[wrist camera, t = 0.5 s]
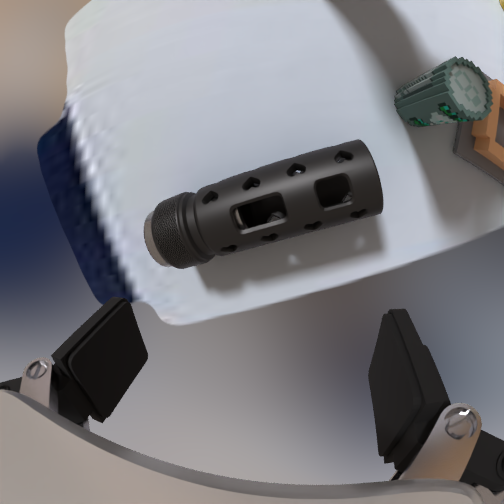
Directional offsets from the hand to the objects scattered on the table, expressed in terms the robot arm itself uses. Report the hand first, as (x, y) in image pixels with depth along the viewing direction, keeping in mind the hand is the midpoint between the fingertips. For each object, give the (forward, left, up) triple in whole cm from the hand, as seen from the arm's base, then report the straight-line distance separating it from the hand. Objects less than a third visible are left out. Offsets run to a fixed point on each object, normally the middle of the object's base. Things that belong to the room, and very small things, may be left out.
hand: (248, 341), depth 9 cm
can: (-18, +14, -30) cm, 38 cm away
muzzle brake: (+2, -3, -30) cm, 30 cm away
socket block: (-22, +30, -30) cm, 47 cm away
